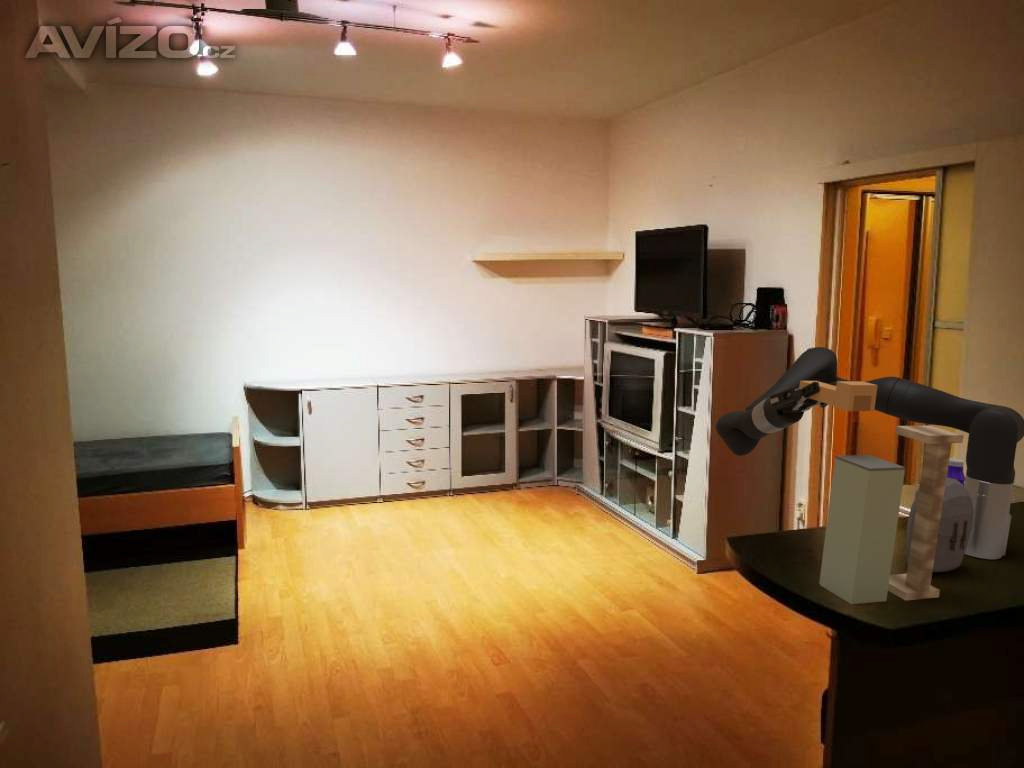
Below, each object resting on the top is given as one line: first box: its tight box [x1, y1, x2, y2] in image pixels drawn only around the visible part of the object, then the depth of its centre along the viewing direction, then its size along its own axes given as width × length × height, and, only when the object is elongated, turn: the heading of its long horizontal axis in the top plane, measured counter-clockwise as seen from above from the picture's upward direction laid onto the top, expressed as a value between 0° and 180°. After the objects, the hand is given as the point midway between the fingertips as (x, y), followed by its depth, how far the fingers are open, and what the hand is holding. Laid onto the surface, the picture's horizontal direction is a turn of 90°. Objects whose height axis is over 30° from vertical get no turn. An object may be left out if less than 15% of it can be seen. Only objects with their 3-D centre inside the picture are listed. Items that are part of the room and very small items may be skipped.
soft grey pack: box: [905, 477, 973, 573], centre depth 164 cm, size 15×8×20 cm, turn 117°
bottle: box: [947, 457, 966, 485], centre depth 193 cm, size 7×6×17 cm
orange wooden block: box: [799, 380, 878, 412], centre depth 157 cm, size 6×16×5 cm, turn 17°
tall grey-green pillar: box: [818, 454, 906, 605], centre depth 150 cm, size 8×9×26 cm
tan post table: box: [888, 425, 965, 602], centre depth 152 cm, size 8×8×32 cm
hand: (826, 386), depth 158 cm, fingers closed on orange wooden block, 4 cm apart
